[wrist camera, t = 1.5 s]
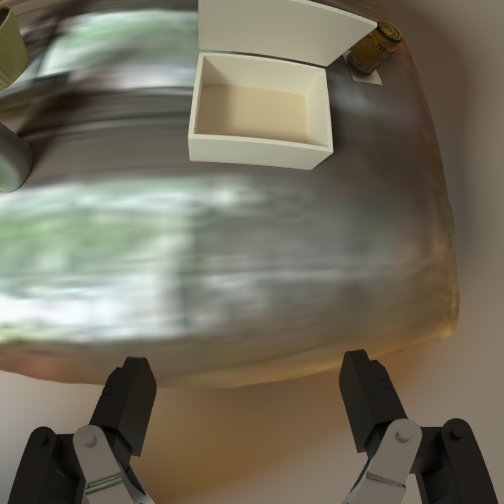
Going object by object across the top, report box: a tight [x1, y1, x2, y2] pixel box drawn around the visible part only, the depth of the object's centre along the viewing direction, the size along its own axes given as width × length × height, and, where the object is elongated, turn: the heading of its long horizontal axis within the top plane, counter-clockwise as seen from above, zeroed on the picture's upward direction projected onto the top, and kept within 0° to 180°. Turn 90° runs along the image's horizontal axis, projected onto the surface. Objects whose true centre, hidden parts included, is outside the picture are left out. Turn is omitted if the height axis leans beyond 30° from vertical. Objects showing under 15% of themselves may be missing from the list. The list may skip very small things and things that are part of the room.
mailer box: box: [188, 52, 333, 170], centre depth 37 cm, size 14×18×8 cm
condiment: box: [342, 21, 401, 85], centre depth 39 cm, size 7×8×12 cm
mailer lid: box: [198, 0, 377, 67], centre depth 26 cm, size 14×18×1 cm
